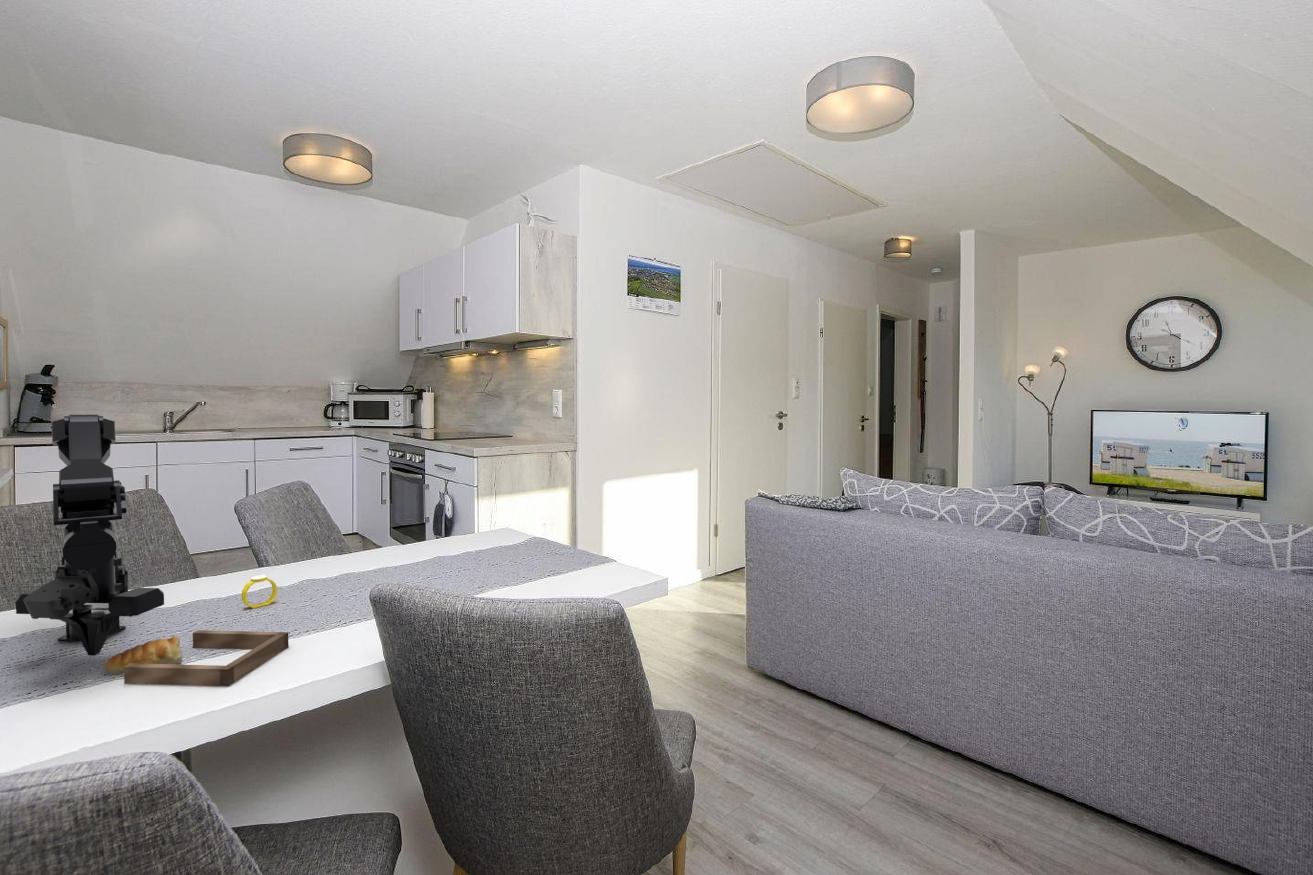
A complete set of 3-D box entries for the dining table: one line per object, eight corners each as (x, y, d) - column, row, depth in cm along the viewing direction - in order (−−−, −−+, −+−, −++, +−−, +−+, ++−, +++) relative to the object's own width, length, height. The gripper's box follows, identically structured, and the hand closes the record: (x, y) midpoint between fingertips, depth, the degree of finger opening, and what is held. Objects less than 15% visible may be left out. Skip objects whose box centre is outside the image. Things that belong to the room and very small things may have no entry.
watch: (247, 612, 122) (244, 582, 122) (241, 609, 124) (237, 580, 123) (280, 602, 127) (277, 573, 126) (273, 599, 129) (270, 571, 128)
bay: (124, 683, 91) (123, 666, 91) (198, 644, 106) (197, 630, 105) (228, 686, 91) (228, 669, 91) (288, 646, 105) (288, 632, 105)
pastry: (104, 682, 92) (103, 657, 92) (104, 667, 97) (103, 643, 97) (185, 665, 98) (184, 641, 98) (180, 652, 103) (180, 629, 103)
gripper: (-27, 568, 90) (-22, 675, 91) (102, 571, 89) (106, 679, 90) (50, 549, 101) (54, 645, 102) (165, 552, 100) (168, 648, 101)
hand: (93, 654), depth 98 cm, fingers closed
